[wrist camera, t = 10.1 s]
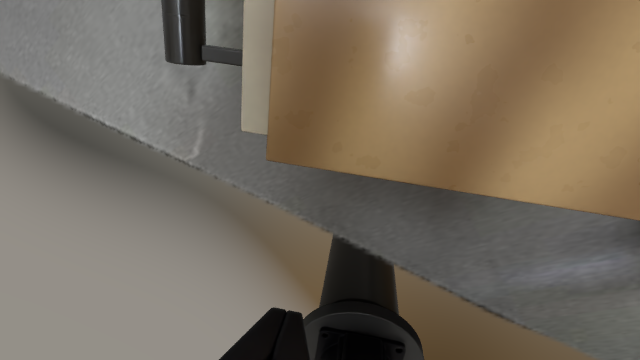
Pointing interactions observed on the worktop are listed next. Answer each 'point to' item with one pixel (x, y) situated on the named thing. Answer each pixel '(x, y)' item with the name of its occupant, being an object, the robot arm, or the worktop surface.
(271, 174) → the worktop surface
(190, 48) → the drawer
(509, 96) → the cabinet
